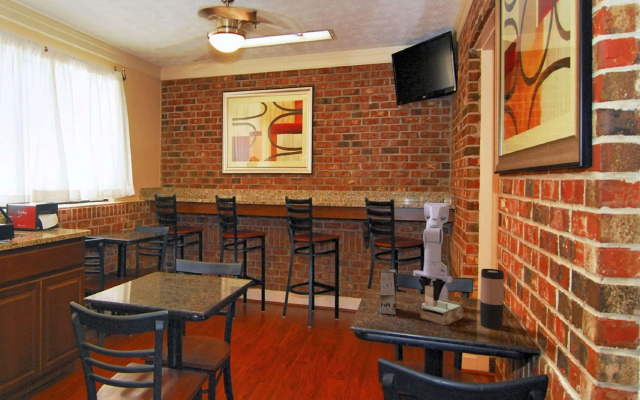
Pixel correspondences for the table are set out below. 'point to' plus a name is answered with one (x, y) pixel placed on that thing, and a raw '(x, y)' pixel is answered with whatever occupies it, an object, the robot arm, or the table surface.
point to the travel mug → (491, 298)
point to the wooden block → (430, 296)
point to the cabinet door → (442, 307)
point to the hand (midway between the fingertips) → (431, 299)
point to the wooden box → (442, 314)
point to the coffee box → (388, 291)
